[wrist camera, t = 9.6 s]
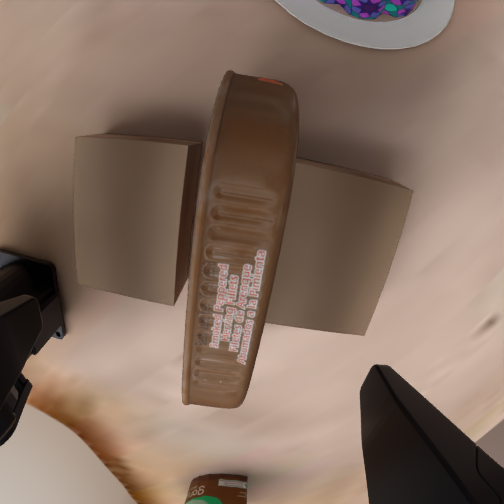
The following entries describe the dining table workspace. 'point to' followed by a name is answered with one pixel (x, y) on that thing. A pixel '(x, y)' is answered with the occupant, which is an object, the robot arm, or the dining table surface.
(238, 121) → the tin
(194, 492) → the food container
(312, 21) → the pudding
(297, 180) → the slotted rail
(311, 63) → the dining table surface
